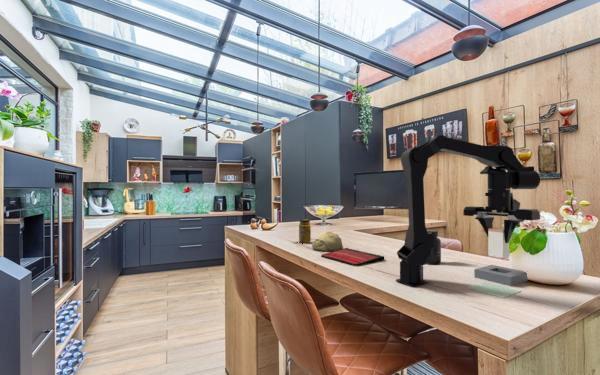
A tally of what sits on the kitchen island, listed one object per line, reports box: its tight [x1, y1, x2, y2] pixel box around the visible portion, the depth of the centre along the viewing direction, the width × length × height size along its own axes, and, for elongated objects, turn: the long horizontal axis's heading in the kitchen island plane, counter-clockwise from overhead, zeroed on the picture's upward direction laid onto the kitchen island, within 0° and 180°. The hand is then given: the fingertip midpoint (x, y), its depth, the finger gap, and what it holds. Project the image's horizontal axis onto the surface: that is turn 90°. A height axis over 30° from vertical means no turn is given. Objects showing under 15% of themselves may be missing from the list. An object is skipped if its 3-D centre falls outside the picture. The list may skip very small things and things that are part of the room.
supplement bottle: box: [425, 229, 442, 265], centre depth 114 cm, size 7×7×12 cm
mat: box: [467, 281, 522, 299], centre depth 82 cm, size 9×9×1 cm
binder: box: [320, 247, 385, 267], centre depth 123 cm, size 16×2×21 cm
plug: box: [487, 227, 511, 259], centre depth 91 cm, size 4×4×8 cm
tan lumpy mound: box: [311, 231, 344, 252], centre depth 141 cm, size 14×12×8 cm
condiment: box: [293, 218, 314, 245], centre depth 159 cm, size 7×8×12 cm
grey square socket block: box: [473, 264, 529, 287], centre depth 92 cm, size 10×10×3 cm
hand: (498, 241), depth 91 cm, fingers closed on plug, 4 cm apart
